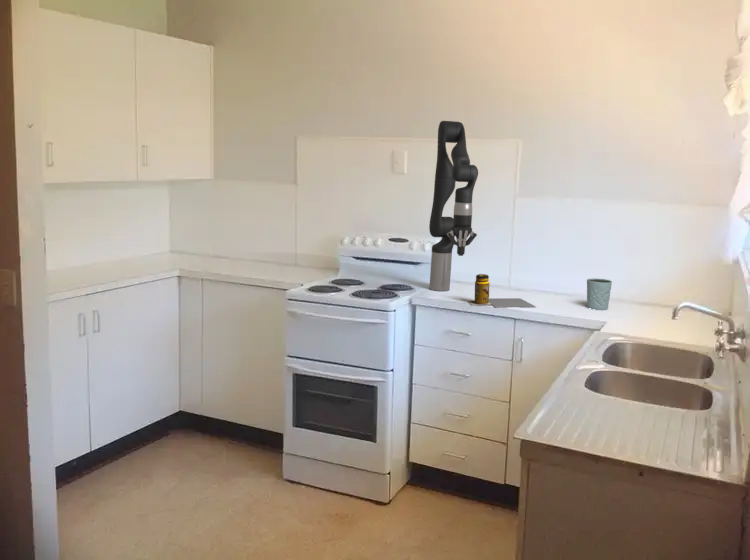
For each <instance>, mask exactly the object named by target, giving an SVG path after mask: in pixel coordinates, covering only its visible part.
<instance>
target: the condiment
mask: <svg viewBox="0 0 750 560" xmlns="http://www.w3.org/2000/svg"><path fill="white" fill-rule="evenodd" d="M489 278H490V277H489V275H488V274H483V273H479V274H476V275H475V282H474V300H467V302H468V303H469V304H470V305H471V306H476V305H477V306H478V305H482V306H483V305H484V306H486V305H487V306H488V305H490V304H491V303H489V299H490V281H489ZM490 306H491V305H490Z"/></svg>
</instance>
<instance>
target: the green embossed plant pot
mask: <svg viewBox="0 0 750 560" xmlns="http://www.w3.org/2000/svg"><path fill="white" fill-rule="evenodd" d="M612 283H613V281H612V280H610V279H605V278H598V277H597V278H595V277H594V278H593V277H592V278H588V279H586V308H587V307H588V308H587V309H589V308H591V309H590V310H593V309H595V311H607V310H608V309H609V304H610V297H611V290H612Z"/></svg>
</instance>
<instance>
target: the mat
mask: <svg viewBox="0 0 750 560" xmlns="http://www.w3.org/2000/svg"><path fill="white" fill-rule="evenodd" d="M489 303H491V304H490V306H492V307H493V308H496V309H497V308H498V309H499V308H501V309H504V308H505V309H506V308H507V307H520V308H537V306H536V305H533V304H532V303H530V302H528V301H526V300H524V299H522V298H519V297H518V298H515V297H514V298H512V297H511V298H509V297H508V298H501V297H500V298H498V297H497V298H492V297H491V298H490V297H489Z"/></svg>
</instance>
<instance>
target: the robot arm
mask: <svg viewBox="0 0 750 560" xmlns="http://www.w3.org/2000/svg"><path fill="white" fill-rule="evenodd" d="M448 143H449V144H451V143H452V144H453V143H454V144H455V145H454V146H453V148H452V149H451V151H450V157H451V159H450V158H449V154H448V152H447V146H446V144H448ZM436 151H437V154H436V155H437V156H436V166H435V174H434V185H433V187H434V190H433V198H432V200H433V201H432V207H431V213H430V217H429V226H428V230H429V233H430V236H431V237H433V238H441V239H440V240H439V242H436V243H434V244H433V245H432V247H431V256H430V274H429V275H430V276H429V290H431V291H439V292H446V291H447V292H448V291H450V288H451V275H452V274H451V272H452V258H453V257H452V255H453V249H454V246H456V253H457V256H460V257H461V256H464V255H465V254H466V253H465V252H466V251H465V249H466V247H467V246H469V245H471V243H472V242H473V241H474V239H475V238H476V237H477V235H478V234H477V233H475V232H474V231H473V228H472V222H473V195H474V188H475V185H476V183H477V179H478V177H479V169H478V167H477V166H476V165H475V164H471V159H470V156H469V153H468V151H467V138H466V130H465V126H464V124H463V123H462V122H460V121H454V120H441V121H440V122H439V123H438V130H437V150H436ZM456 182H457V183H458V182H459V183H467V184H466V185H465V186H463V187H457V188H456ZM455 189H456V190H455ZM453 193H454V195H455V196H454V206H453V216H443V211H444V208H445V205H446V204H447V202H448V200H450V198H451V196H452V195H453Z"/></svg>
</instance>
